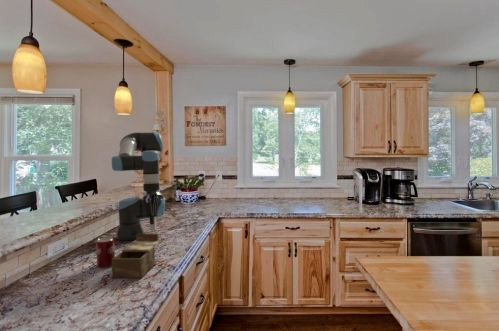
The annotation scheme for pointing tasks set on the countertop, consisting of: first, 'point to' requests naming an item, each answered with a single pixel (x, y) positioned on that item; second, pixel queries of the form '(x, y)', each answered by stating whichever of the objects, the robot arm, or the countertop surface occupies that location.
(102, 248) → the soda can
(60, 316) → the countertop surface
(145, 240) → the lid
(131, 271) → the box
